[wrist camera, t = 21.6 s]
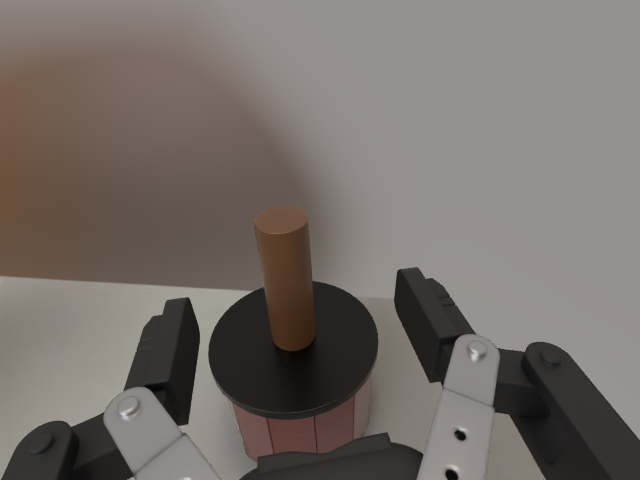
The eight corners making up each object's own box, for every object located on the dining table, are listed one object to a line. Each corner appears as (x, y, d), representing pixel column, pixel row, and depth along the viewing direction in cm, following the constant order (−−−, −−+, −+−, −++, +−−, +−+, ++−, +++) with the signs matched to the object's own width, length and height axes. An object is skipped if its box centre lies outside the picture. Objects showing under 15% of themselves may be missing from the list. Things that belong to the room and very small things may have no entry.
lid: (402, 316, 23) (417, 197, 19) (324, 459, 16) (317, 325, 12) (276, 271, 28) (262, 164, 23) (172, 368, 21) (122, 243, 16)
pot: (387, 384, 27) (394, 317, 23) (326, 509, 21) (323, 445, 17) (286, 338, 31) (278, 275, 27) (209, 431, 25) (184, 365, 21)
